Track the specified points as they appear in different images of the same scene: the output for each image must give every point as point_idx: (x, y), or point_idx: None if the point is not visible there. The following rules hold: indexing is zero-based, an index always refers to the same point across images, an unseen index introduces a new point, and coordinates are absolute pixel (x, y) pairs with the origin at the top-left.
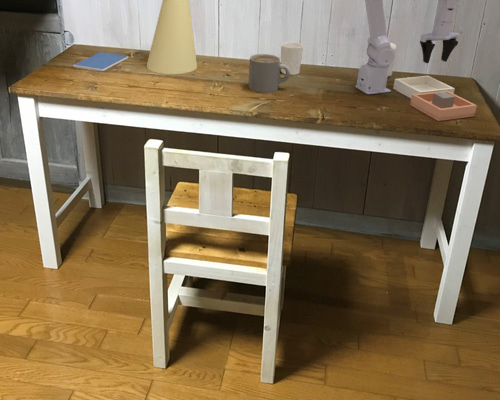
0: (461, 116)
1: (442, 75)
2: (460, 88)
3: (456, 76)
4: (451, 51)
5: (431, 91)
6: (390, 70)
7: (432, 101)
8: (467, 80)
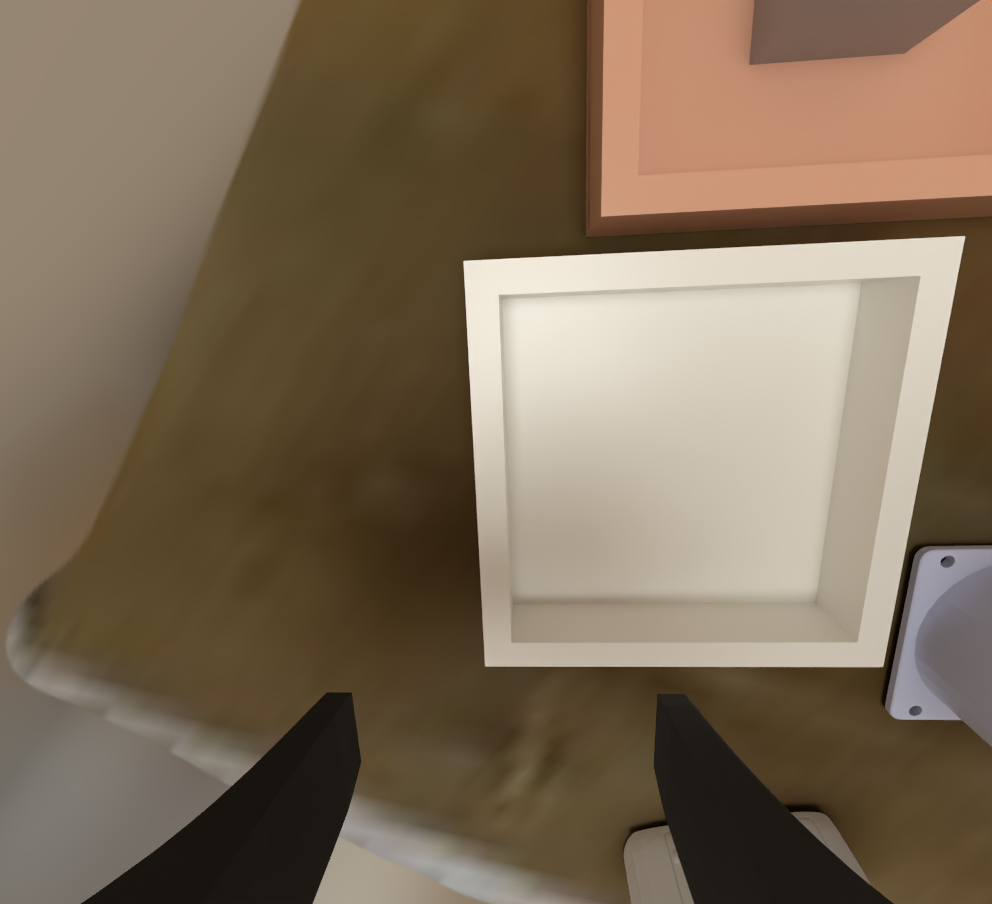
0: None
1: (226, 751)
2: (245, 481)
3: (128, 709)
4: (197, 822)
5: (794, 246)
6: (670, 873)
7: (943, 20)
8: (85, 620)
